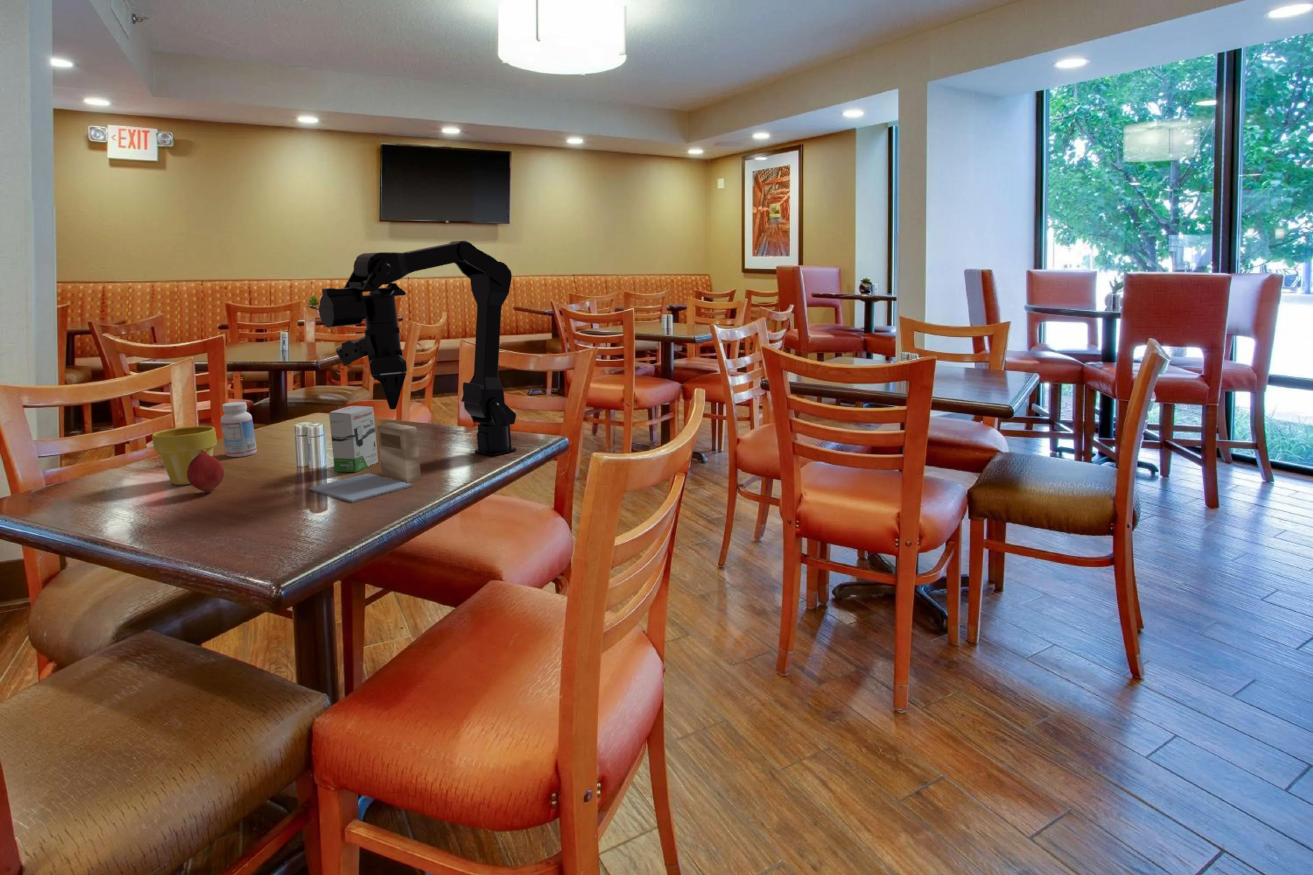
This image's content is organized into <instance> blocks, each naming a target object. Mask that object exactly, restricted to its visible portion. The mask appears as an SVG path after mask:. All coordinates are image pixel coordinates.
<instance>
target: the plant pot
mask: <svg viewBox="0 0 1313 875" xmlns="http://www.w3.org/2000/svg"><path fill="white" fill-rule="evenodd" d="M151 437H152V438H151V439H152V445H153V449H154V452H155V453H156V454H159V457H160V459H161V461H162V464H163V466H164V469H165V471H166V473H167V475H168V478H169V480H170V483H171V484H173V485H177V486H183V485H184V486H185V485H186V486H187V485H191V484H190V482H189V481H188V478H187V470H188V466H189V464H190V462H191V461H192V460H193V459H194V458H195V457H196V456H197V455H198V454H199V453H200V452H201V451H202V450H205V449H206V450H207V454H208V455H210V456H212V457H214V448H215V447H216V446H217V444H218V441H217V432H216V428H215V427H214V426H210V425H209V426H208V425H194V426H193V425H192V426H181V427H173V428H168V429H164V430H160V431H156V432H153V434H152V435H151Z"/></svg>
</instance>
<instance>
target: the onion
mask: <svg viewBox="0 0 1313 875" xmlns="http://www.w3.org/2000/svg"><path fill="white" fill-rule="evenodd" d="M187 478H188V481H189V482H190V484H189V485H191V486H192V487H193V488H195V489H198V490H200V491H202V492H205V493H206V494H210V493H212V492H213V491H215V489H216V488H217V487H218V486H219V485H220V484H221V483H222V481H223V480H224V478H225V469H224V467H223V464H222V462H221V461H220V460H219V459H217V458H216V457H214V456H213V457H212V456H210V455H208V454H207V450H206V449H205V450H202V451H201V452H200V453H199V454H198V455H197V456H196V457H195V458H194V459H193V460H192V461H191V462H190V464H189V466H188V470H187Z"/></svg>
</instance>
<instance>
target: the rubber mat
mask: <svg viewBox="0 0 1313 875" xmlns="http://www.w3.org/2000/svg"><path fill="white" fill-rule="evenodd" d="M411 487H413V484H412V483H410V482H409V483H406V482H402V481H398V480H394V479H390V478H386V477H382V475H381V476H380V475H378V474H374V473H369V472H367V473H364V474H360V475H356V476H351V477H347V478H343V479H339V480H335V481H331V482H327V483H323V484H320V485H315V486H310V487H309V491H312V492H315V493H318V494H322V495H326V496H330V497H332V498H335V499H338V500H339V499H340V500H342V501H346V502H349V503H355V502H360V501H364V500H366V499H371V497H372V498H374V497H373V496H375V497H378V495H379V496H382V495H381V494H383V495H386V494H389V492H390V493H392V492H397V491H401V490H404V488H405V489H407V488H411ZM385 493H386V494H385Z"/></svg>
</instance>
